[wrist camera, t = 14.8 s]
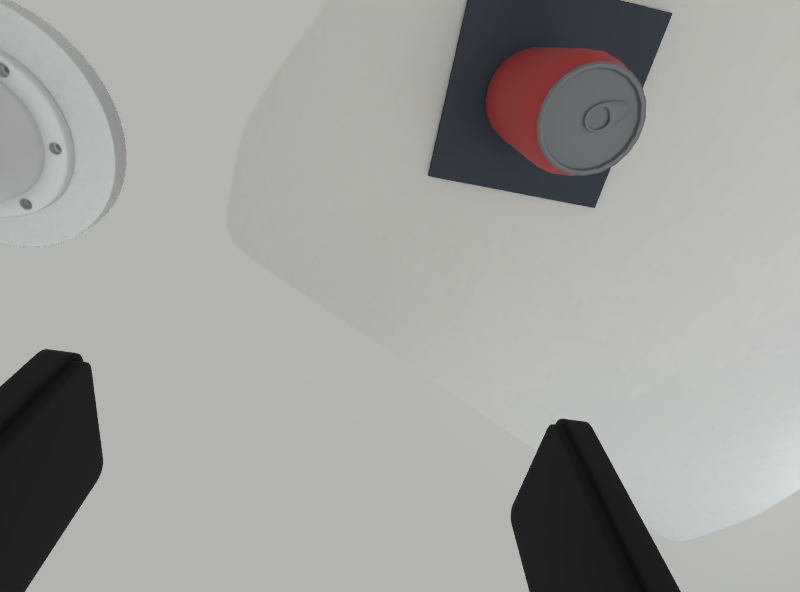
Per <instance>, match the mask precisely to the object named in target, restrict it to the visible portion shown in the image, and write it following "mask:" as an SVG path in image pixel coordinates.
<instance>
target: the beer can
mask: <svg viewBox="0 0 800 592" xmlns="http://www.w3.org/2000/svg"><path fill="white" fill-rule="evenodd" d="M486 111H487V117H488V119H489V121H490V123H491V126H492V128H493V129H494V130H495V131H496V132H497V134H498V135H499V136H500V137H501V138H502V139H503V140H505V141H506V142H507V143H508V144H510V145H511V146H512V147H513V148H515V149H516V150H517V151H518V152H520V153H521V154H522V155H523V156H525V157H526V158H527V159H528V160H530V161H531V162H532V163H533V164H535V165H536V166H537V167H539V168H541V169H543V170H545V171H547V172H549V173H552V174H560V175H569V176H575V175H580V176H586V175H591V174H596V173H600V172H602V171H604V170H606V169H608V168H610V167H612V166H614V165H615V164H617V163H618V162H619V161H620V160H621V159H622V158H623V157H624V156H625V155H627V154H628V153H629V152H630V150H631V149H632V147H633V146H634V144H635V143H636V141H637V140H638V138H639V136H640V133H641V131H642V128H643V125H644V122H645V117H646V99H645V95H644V91H643V88H642V85H641V83H640V82H639V81H638V79H637V78H636V77H635V75H634V74H633V73H632V71H630V70H628V69H627V67H626V66H625V65H624V63H622V62H621V61H620V60H618V59H616V58H615V57H613V56H611V55H610V54H608V53H606V52H604V51H599V50H592V49H584V48H549V47H534V48H529V49H525V50H520V51H519V52H517V53H515V54H514V55H512V56H510V57H509V58H507V59H506V60H505V61H504V62H503V63H502V64H501V65H500V66H499V68H498V69H497V70H496V71H495V73H494V75H493V77H492V79H491V81H490V83H489V85H488V90H487V95H486Z"/></svg>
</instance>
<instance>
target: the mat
mask: <svg viewBox="0 0 800 592" xmlns="http://www.w3.org/2000/svg"><path fill="white" fill-rule="evenodd" d="M671 16H672V13H669V12H665V11H661V10H657V9H653V8H649V7H645V6H641V5H637V4H633V3H629V2H625V1H620V0H467V5H466V9H465V14H464V18H463V23H462V27H461V31H460V36H459V40H458V45H457V49H456V54H455V58H454V63H453V67H452V72H451V76H450V80H449V85H448V89H447V94H446V98H445V103H444V107H443V112H442V116H441V121H440V125H439V129H438V134H437V138H436V143H435V147H434V152H433V156H432V161H431V165H430V170H429V174H428V175H429V176H431V177H437V178H442V179H447V180H452V181H457V182H463V183H468V184H473V185H478V186H483V187H489V188H494V189H499V190H504V191H510V192H515V193H520V194H525V195H530V196H536V197H541V198H546V199H551V200H556V201H562V202H567V203H572V204H577V205H582V206H588V207H593V208H595V206H596V203H597V201H598V198H599V196H600V193H601V191H602V188H603V186H604V183H605V181H606V178H607V176H608V173H609V171H610V168H611V167H610V168H608V169H606V170H604V171H602V172H600V173H596V174H591V175H586V176H580V175H575V176H569V175H560V174H552V173H549V172H547V171H545V170H543V169H541V168H539V167H537V166H536V165H535V164H533V163H532V162H531V161H530V160H528V159H527V158H526V157H525V156H523V155H522V154H521V153H520V152H518V151H517V150H516V149H515V148H513V147H512V146H511V145H510V144H508V143H507V142H506V141H505V140H503V139H502V138H501V137H500V136H499V135H498V134H497V132H496V131H495V130H494V129H493V128H492V126H491V123H490V121H489V119H488V117H487V111H486V95H487V90H488V85H489V83H490V81H491V79H492V77H493V75H494V73H495V71H496V70H497V69H498V68H499V66H500V65H501V64H502V63H503V62H504V61H505V60H506V59H507V58H509V57H510V56H512V55H514V54H515V53H517V52H519V51H520V50H525V49H529V48H534V47H549V48H584V49H592V50H599V51H604V52H606V53H608V54H610V55H611V56H613V57H615V58H616V59H618V60H620V61H621V62H622V63H624V65H625V66H626V67H627V69H628V70H630V71H632V73H633V74H634V75H635V77H636V78H637V79H638V81H639V82H640V83H641V85H642V88H643V86H644V83H645V81H646V78H647V76H648V73H649V71H650V68H651V66H652V63H653V61H654V58H655V56H656V53H657V51H658V48H659V46H660V43H661V41H662V38H663V36H664V33H665V31H666V28H667V26H668V23H669V21H670V18H671Z"/></svg>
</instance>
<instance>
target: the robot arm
mask: <svg viewBox="0 0 800 592" xmlns="http://www.w3.org/2000/svg"><path fill="white" fill-rule="evenodd" d="M60 147H61V148H60ZM73 166H74V147H73V141H72V137H71V134H70V130H69V127H68V124H67V122H66V120H65V118H64V116H63V113H62V111H61V109H60V108H59V106H58V105H57V103H56V102H55V100H54V98H53V97H52V95H51V94H50V92H49V91H48V90H47V89H46V88H45V87H44V86H43V84H42V83H41V82H40V81H39V80H38V79H37V77H36V76H34V75H33V74H32V73H31V72H30V71H29V70H28V69H26V68H25V67H24V66H23V65H22V64H21V63H20V62H18V61H17V60H15V59H14V58H12V57H11V56H9V55H8V54H6V53H5V52H3V51H1V50H0V217H18V216H25V215H28V214H31V213H34V212H37V211H39V210H41V209H43V208H45V207H47V206H49V205H51V204H52V203H53V202H54V201H56V200H57V199H58V198H59V197H60V196H61V195H62V193H63V192H64V191H65V189H66V188H67V186H68V184H69V181H70V179H71V176H72V173H73ZM102 466H103V457H102V448H101V440H100V432H99V425H98V418H97V410H96V402H95V394H94V386H93V378H92V371H91V366H90V364H89V363H87V362H83V359H82V357H81V355H80V354H77V353H71V352H64V351H56V350H48V349H46V350H42V351H40V352H39V353H37V354H36V355H35V356H34V357H33V358H32V359H31V360H29V362H27V363H26V364H25V365H24V366H23V367H22V368H21V369H20V370H19V371H17V372H16V373H15V374H14V375H13V376H12V377H11V378H10V379H8V380H7V381H6V382H5V383H4V384H3V385H2V386H1V387H0V592H25V590H26V589H27V587H28V586H29V584H30V583H31V581H32V580H33V578H34V577H35V575H36V574H37V572H38V570H39V569H40V567H41V566H42V564H43V563H44V561H45V560H46V558H47V557H48V555H49V554H50V552H51V551H52V549H53V548H54V546H55V544H56V542H57V541H58V540H59V538H60V537H61V535H62V534H63V532H64V530H65V529H66V528H67V526H68V525H69V523H70V522H71V520H72V518H73V517H74V515H75V514H76V512H77V511H78V509H79V508H80V506H81V505H82V503H83V501H84V500H85V499H86V497H87V495H88V494H89V492H90V491H91V489H92V488H93V486H94V485H95V483H96V482H97V480H98V478H99V476H100V474H101V471H102ZM511 523H512V527H513V531H514V535H515V539H516V542H517V546H518V550H519V554H520V557H521V561H522V565H523V569H524V572H525V576H526V580H527V584H528V587H529V591H530V592H681V591H680V590H679V588H678V586H677V584H676V582H675V580H674V579H673V577H672V575H671V573H670V571H669V569H668V567H667V565H666V564H665V562H664V560H663V558H662V556H661V554H660V553H659V551H658V549H657V547H656V545H655V543H654V541H653V540H652V538H651V536H650V534H649V532H648V530H647V528H646V527H645V525H644V523H643V521H642V519H641V517H640V515H639V514H638V512H637V510H636V508H635V506H634V504H633V503H632V501H631V499H630V497H629V495H628V493H627V491H626V490H625V488H624V486H623V484H622V482H621V480H620V478H619V477H618V475H617V473H616V471H615V469H614V467H613V465H612V464H611V462H610V460H609V458H608V456H607V454H606V453H605V451H604V449H603V447H602V445H601V443H600V441H599V440H598V438H597V436H596V434H595V432H594V430H593V428H592V427H591V426H590V424H589V423H587V422H582V421H575V420H568V419H560V420H558V421H557V422H556V424H555V425H550V426H549V427H548V429H547V431H546V433H545V435H544V437H543V440H542V442H541V444H540V446H539V448H538V451H537V453H536V455H535V457H534V459H533V462H532V464H531V466H530V468H529V471H528V473H527V475H526V477H525V479H524V481H523V484H522V486H521V488H520V490H519V492H518V495H517V497H516V499H515V501H514V504H513V506H512V510H511Z"/></svg>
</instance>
